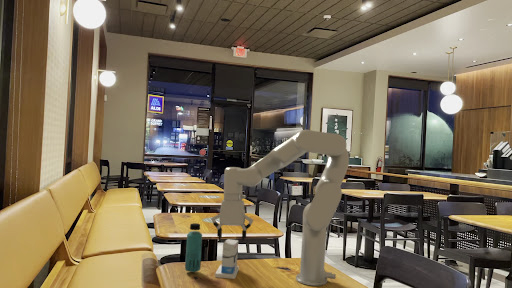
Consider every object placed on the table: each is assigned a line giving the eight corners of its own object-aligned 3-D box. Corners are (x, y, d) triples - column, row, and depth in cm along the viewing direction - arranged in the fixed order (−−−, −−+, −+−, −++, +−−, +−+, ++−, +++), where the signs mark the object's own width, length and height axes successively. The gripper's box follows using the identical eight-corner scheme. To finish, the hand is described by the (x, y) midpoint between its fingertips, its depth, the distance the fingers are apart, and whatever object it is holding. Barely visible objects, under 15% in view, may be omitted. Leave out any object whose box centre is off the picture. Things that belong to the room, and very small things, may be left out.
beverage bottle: (186, 276, 156) (189, 225, 156) (182, 270, 162) (185, 222, 162) (202, 274, 158) (205, 225, 158) (198, 269, 165) (200, 221, 164)
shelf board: (238, 269, 167) (238, 266, 167) (234, 278, 156) (235, 275, 156) (220, 268, 168) (220, 264, 168) (215, 277, 157) (215, 273, 157)
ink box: (232, 274, 157) (234, 244, 157) (220, 273, 157) (222, 243, 157) (237, 267, 165) (238, 239, 165) (225, 266, 166) (227, 238, 166)
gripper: (254, 197, 164) (253, 238, 164) (213, 195, 166) (212, 235, 166) (253, 199, 157) (251, 242, 157) (210, 197, 158) (208, 240, 158)
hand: (231, 239), depth 161 cm, fingers open, 9 cm apart
